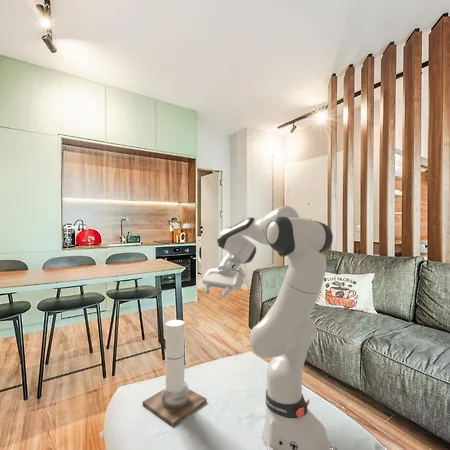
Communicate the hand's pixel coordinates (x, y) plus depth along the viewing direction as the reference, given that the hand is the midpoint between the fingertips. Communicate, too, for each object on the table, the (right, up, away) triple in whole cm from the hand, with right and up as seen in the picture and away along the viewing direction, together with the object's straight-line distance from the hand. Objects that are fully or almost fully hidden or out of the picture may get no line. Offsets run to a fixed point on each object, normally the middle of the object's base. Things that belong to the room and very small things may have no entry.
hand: (214, 294), depth 116 cm
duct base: (-15, -39, -11) cm, 44 cm away
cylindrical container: (-15, -33, -11) cm, 38 cm away
